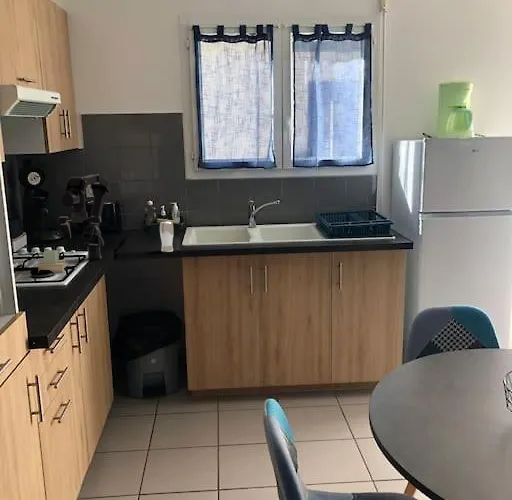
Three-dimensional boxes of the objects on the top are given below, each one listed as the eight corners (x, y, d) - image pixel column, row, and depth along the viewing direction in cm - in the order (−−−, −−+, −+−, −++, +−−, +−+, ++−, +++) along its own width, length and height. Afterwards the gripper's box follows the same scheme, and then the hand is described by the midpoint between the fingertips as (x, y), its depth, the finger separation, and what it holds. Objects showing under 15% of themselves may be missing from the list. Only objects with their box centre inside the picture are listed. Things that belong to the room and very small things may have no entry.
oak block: (42, 269, 258) (41, 260, 258) (65, 268, 260) (64, 259, 260) (38, 274, 249) (38, 265, 248) (63, 273, 251) (62, 264, 250)
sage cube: (47, 261, 256) (46, 250, 255) (58, 261, 257) (58, 250, 256) (44, 263, 251) (43, 252, 250) (55, 263, 252) (55, 252, 251)
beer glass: (164, 249, 304) (163, 221, 301) (176, 250, 302) (175, 221, 299) (158, 251, 298) (157, 222, 295) (169, 252, 295) (168, 223, 292)
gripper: (54, 206, 253) (56, 241, 256) (97, 206, 256) (99, 240, 259) (58, 204, 264) (60, 237, 267) (100, 203, 267) (102, 236, 270)
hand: (80, 238), depth 265 cm, fingers open, 9 cm apart
